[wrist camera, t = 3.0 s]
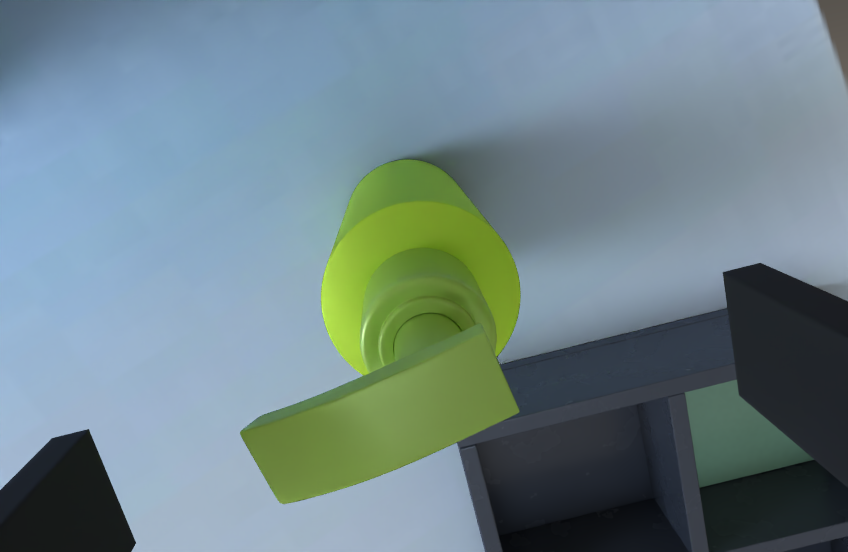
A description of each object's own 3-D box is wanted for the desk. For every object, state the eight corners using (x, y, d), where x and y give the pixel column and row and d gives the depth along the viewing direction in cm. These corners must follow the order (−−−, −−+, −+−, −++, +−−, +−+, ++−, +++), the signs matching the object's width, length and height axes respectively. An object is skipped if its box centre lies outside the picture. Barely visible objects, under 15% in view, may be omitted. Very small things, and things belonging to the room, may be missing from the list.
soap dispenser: (305, 199, 32) (181, 356, 13) (439, 138, 31) (524, 206, 12) (358, 306, 33) (320, 595, 14) (487, 250, 33) (629, 468, 14)
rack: (443, 378, 35) (454, 432, 29) (812, 286, 34) (895, 323, 29) (519, 673, 40) (540, 767, 34) (840, 595, 39) (915, 677, 34)
